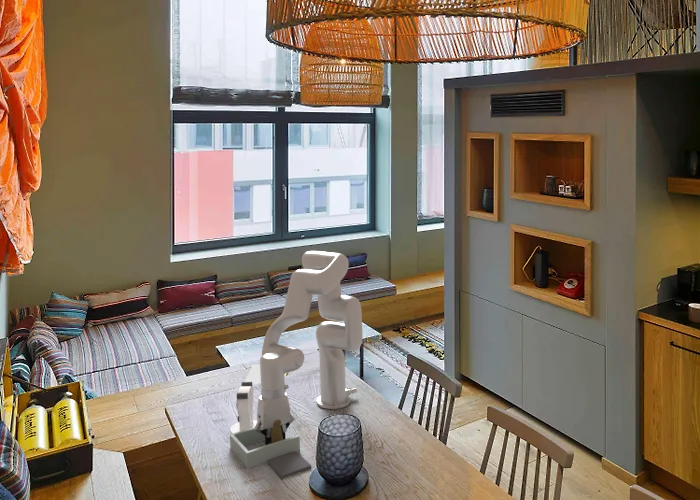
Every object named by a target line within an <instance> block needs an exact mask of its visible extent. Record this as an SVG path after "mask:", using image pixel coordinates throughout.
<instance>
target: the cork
mask: <svg viewBox="0 0 700 500" xmlns="http://www.w3.org/2000/svg"><path fill="white" fill-rule="evenodd" d="M280 424H281V420H276V421H274V423H273V426H274V427H272V428H271V432H270V437H271V444H272V443H275V442H278V441H281V440H283V436H282V428H281V425H280ZM269 444H270V443H269Z"/></svg>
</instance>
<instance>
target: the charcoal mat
mask: <svg viewBox="0 0 700 500" xmlns="http://www.w3.org/2000/svg"><path fill="white" fill-rule="evenodd" d="M266 464H267V465H268V467H270V469H271V470H272V471H273V472H274V473H275V474H276V475H277V476H278V478H280V479H281V480H283V479H285V478H288V477H291V476H293V475H297V474H299V473H302V472H305V471H308V470H311V469H312V465H311V464H310V463H309V461H307V460H306V459H305V458H304V457H303V456H302V455H301V454H300V453H299V452H296V451H295V452H292V453H289V454H286V455H283V456H280V457H277V458H274V459H271V460H268V461H267V462H266Z"/></svg>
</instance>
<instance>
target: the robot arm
mask: <svg viewBox="0 0 700 500" xmlns="http://www.w3.org/2000/svg"><path fill="white" fill-rule="evenodd" d="M349 263H350V262H349V259H348V257H347V256H346V255H345V254H343V253H339V252H329V251H322V250H308V251H305V252H304V253H303V255H302V257H301V264H302V268H301V269H300V268H299V269H297V270H295V271H293V272H292V274H291V276H290V281H289V285H288V289H287V294H286V297H285V303H284V306H283V311H282V313H281V315H279V316H278V317H277V318H276V319H275V320H274V321H273V322H272V323H271V325H270V326H269V328H268V329H267V331H266V333H265V336H264V341H263V345H262V348H261V356H260V359H259V369H260V371H259V372H260V392H261V393H260V394H261V395H260V396H259V397H258V401H257V411H256V412H257V414H256V421H257V424H256V426H255V428H254V430H255V431H256V432H259V433H262V434H263V435H265V440H264V444H265V445H269V443H270V444H271V437H270V432H271V428H272V427H274V426H273V423H274V421H276V420H281V424H280V425H281V428H282V436H283V440H284V439H287V438H286V437H287V436H286V433H287V429H288V428H289V427H290V425H291V424H292V423H294V421H295V417H294V416H293V415H292V414H291V408H290V402H289V397H288V394H287V392H286V390H287V389H289V388H290V387H289V384H286V383H285V381H286V380H285V374H288V373H291V372H295V371H297V370H299V369H300V368H301V367H302V366H303V365H304V361H305V354H304V352H303V351H302V350H301V349H300V348H298V347H293V346H288V345H283V344H280V343H279V341H280V338H281V336H282V334H283V333H284V332H285V330H286V329H288V328H289V327H292V326H294V325H295V324H298V323H302V322H304V321H306V320H307V319H308V318H309V314H310V310H311V305H312V301H313V296H316V297H317V305H318V312H319V315H320V317H321V318H323V319H326V321H322V322H320V323H319V324H318V325H317V327H316V330H315V339H316V343H317V347H318V353H319V355H318V356H319V357H318V358H319V378H320V379H319V380H320V382H319V383H320V395H319V396H318V397H317V398H316V404H317V406H319V407H320V408H323V409H326V410H327V409H328V410H338V409H342V408H345V407H347V406H349V404H350V403H351V398H350V396H351V394H352V395H353V394H356V393H357V392H358V390H357V387H353V388H351V387H349V386H348V387H346V384H347V383H346V357H345V353H344V351H349V352H350V351H351V352H355V351H357V350H359V349H360V348H361V345H362V342H363V316H362V315H363V313H362V304H361V303H360V300H359V299H358V298H357V297H355V296H352V295H347V294H346V295H345V294H343V293H342V290H341V289H342V288H341V282H342V280H343V279H344V277H346V274H347V273H348V270H349V266H350V264H349ZM327 320H328V321H327ZM343 350H344V351H343ZM261 426H262V428H263V429H262V428H261Z"/></svg>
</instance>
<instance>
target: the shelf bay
mask: <svg viewBox="0 0 700 500" xmlns="http://www.w3.org/2000/svg"><path fill="white" fill-rule="evenodd" d="M254 428H255V427H253V428H250V429H247V430H243V431H240V432H237V433H233V434H232V433H230V434H229V445H230V450H231V451H232V452H233V453H234V455H235V456H236V457H237V458H238V459H239V460H240V461H241V463H242V464H243V465H244V466H245V467H246V468H247V469H251V468H253V467H256V466H259V465H262V464H265V463H267V461H268V460H271V459H274V458H277V457H280V456H283V455H286V454H289V453H292V452H295V451H296V452H297V453H299V452H300V451H301V439H300V437H301V436H300V435H298V434H297V435H294V436H292V437H288V438H286V439H284V440H281V441H278V442H275V443H272V444H269V445H266V444H265V445H263V446H260V447H256V448H253V449H251V450H248V448H247V447H246V446H249V445H252V444H256V443H259V442H261V441H265V435H263V434H262V433H259V432H256V431H255V430H254ZM261 428H262V426H261ZM262 429H263V428H262Z"/></svg>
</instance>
